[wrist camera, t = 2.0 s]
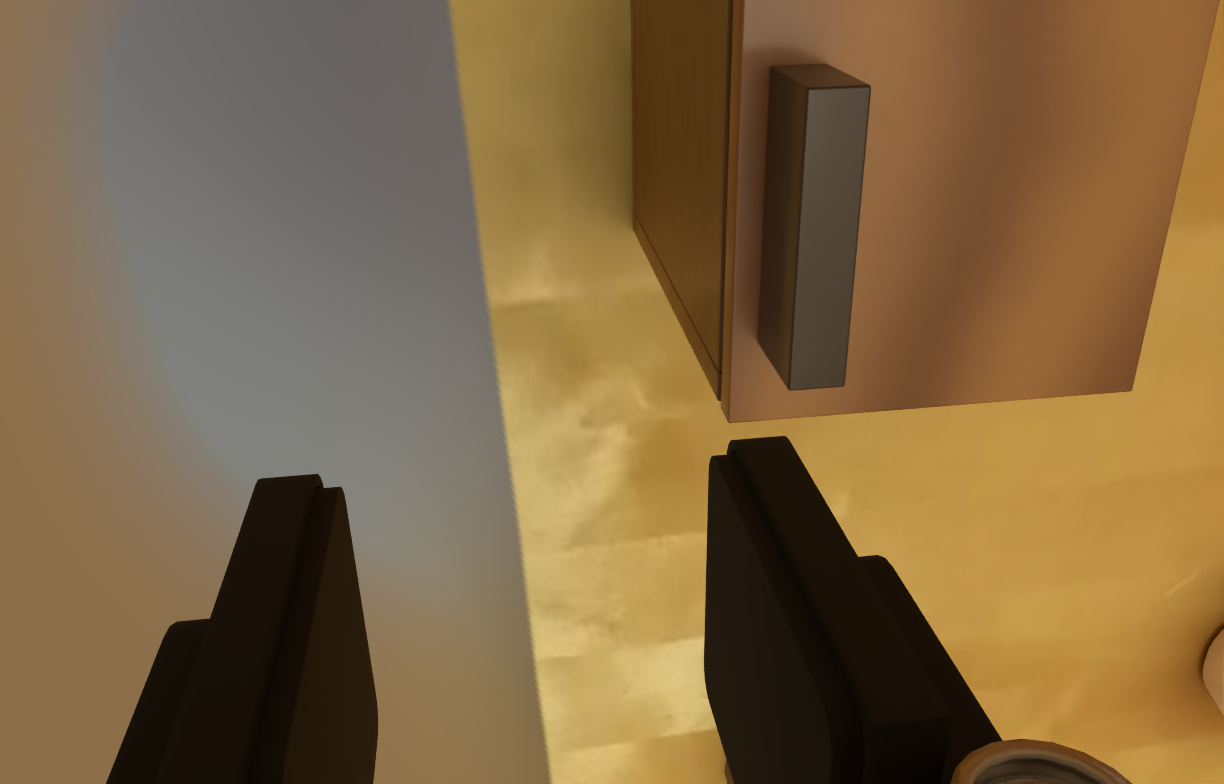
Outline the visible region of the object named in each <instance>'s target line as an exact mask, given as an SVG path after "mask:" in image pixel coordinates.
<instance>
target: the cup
mask: <svg viewBox="0 0 1224 784" xmlns="http://www.w3.org/2000/svg"><path fill="white" fill-rule="evenodd" d="M1203 681H1204V683H1205V686H1206V689H1207V690H1208V692H1209V693H1210V695H1211V697H1212V698H1213V700H1214V701H1215V703H1216V704H1217V706H1218V707H1219V709H1220V711H1221V712H1222V714H1223V715H1224V629H1223V630H1222V631H1221V632H1220V633H1219V634H1218V635H1217V637H1216V638H1215V639H1214V641H1213V642H1212V644H1211V646H1210V647H1209V650H1208V652H1207V655H1206V659H1205V661H1204V666H1203Z"/></svg>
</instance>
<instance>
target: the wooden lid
mask: <svg viewBox="0 0 1224 784" xmlns="http://www.w3.org/2000/svg"><path fill="white" fill-rule="evenodd" d="M1219 1H1220V0H733V25H732V59H731V92H730V125H729V158H728V191H727V225H726V258H725V291H724V324H723V357H722V390H721V409H722V411H723V413H724V415H725V417H726V419H727V421H728V423H738V422H750V421H763V420H775V419H788V418H801V417H813V416H826V415H838V414H851V413H863V412H876V411H888V410H901V409H914V408H926V407H939V406H951V405H964V404H976V403H989V402H1002V401H1014V400H1027V399H1039V398H1052V397H1064V396H1077V395H1089V394H1102V393H1115V392H1127V391H1132V388H1133V383H1134V379H1135V374H1136V370H1137V366H1138V361H1139V357H1140V352H1141V348H1142V343H1143V339H1144V334H1145V330H1146V326H1147V321H1148V317H1149V312H1150V308H1151V303H1152V299H1153V294H1154V290H1155V286H1156V281H1157V277H1158V272H1159V268H1160V263H1161V259H1162V254H1163V250H1164V245H1165V241H1166V237H1167V232H1168V228H1169V223H1170V219H1171V214H1172V210H1173V205H1174V201H1175V197H1176V192H1177V188H1178V183H1179V179H1180V174H1181V170H1182V165H1183V161H1184V157H1185V152H1186V148H1187V143H1188V139H1189V134H1190V130H1191V125H1192V121H1193V117H1194V112H1195V108H1196V103H1197V99H1198V94H1199V90H1200V85H1201V81H1202V76H1203V72H1204V68H1205V63H1206V59H1207V54H1208V50H1209V45H1210V41H1211V36H1212V32H1213V28H1214V23H1215V19H1216V14H1217V10H1218V5H1219Z"/></svg>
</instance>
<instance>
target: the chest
mask: <svg viewBox="0 0 1224 784" xmlns="http://www.w3.org/2000/svg"><path fill="white" fill-rule="evenodd" d="M732 25H733V0H631V47H632V140H633V230H634V232H635V234H636V236H637V238H638V240H639V242H640V244H641V246H642V249H643V251H644V253H645V255H646V257H647V259H648V261H649V263H650V265H651V267H652V269H653V271H654V273H655V275H656V277H657V279H658V281H659V283H660V285H661V287H662V289H663V291H664V293H665V295H666V297H667V299H668V301H669V303H670V305H671V307H672V309H673V311H674V313H675V315H676V317H677V319H678V321H679V323H680V325H681V327H682V329H683V331H684V333H685V335H686V337H687V339H688V341H689V343H690V345H691V347H692V349H693V351H694V353H695V355H696V357H697V359H698V361H699V363H700V365H701V367H702V369H703V371H704V373H705V375H706V377H707V379H708V381H709V384H710V386H711V388H712V390H713V392H714V394H715V396H716V398H717V400H718V401H721V390H722V357H723V324H724V291H725V258H726V225H727V191H728V158H729V125H730V92H731V59H732Z"/></svg>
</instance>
